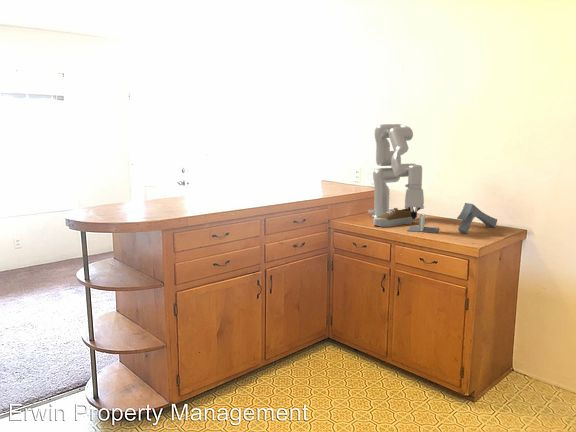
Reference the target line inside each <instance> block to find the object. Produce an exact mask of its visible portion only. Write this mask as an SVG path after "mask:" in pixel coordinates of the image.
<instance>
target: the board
mask: <svg viewBox="0 0 576 432" xmlns="http://www.w3.org/2000/svg"><path fill="white" fill-rule="evenodd" d="M425 219H426V213H424V212H422V213H421V214H420V215H419V219H418V226H419V231H423V229H424V227H425V221H426V220H425Z"/></svg>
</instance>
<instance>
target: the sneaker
mask: <svg viewBox="0 0 576 432" xmlns="http://www.w3.org/2000/svg"><path fill="white" fill-rule="evenodd" d="M413 210H414V211H415V209H414V208H413ZM372 219H373V220H372V222H373V223H372V224H373V225H374V226H378V227H382V228H387V227H388V228H389V227H395V226H399V225H400V226H401V225H406V224H407V225H408V224H413V223H414V220H415V219H412V217H411V211H410V210H409V209H407V208H402V209H399V208H398V207H394V208H391V209H389V211H388V212H386V213H385V214H383V215H381V216H377V217H373V218H372Z"/></svg>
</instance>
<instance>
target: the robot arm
mask: <svg viewBox="0 0 576 432" xmlns="http://www.w3.org/2000/svg"><path fill="white" fill-rule="evenodd" d="M374 138H375V144H376V145H375V146H376V147H375V149H376V150H375V162H376V163H375V164H376V165H377V166H380V168H379V167H378V168H376V169H375V170H373V173H372V178H373V183H374V184H373V185H374V188H373V189H374V197H373V199H374V200H373V201H374V202H373V203H374V205H373V207H374V208H373V209H367V213H369V214H371V217H372V218H374V217H377V216H381V215H383V214H385V213H386V212H388V211H389V210H390V188H389V186H388V185H387V183H389V184H390V183H397V182H399V181H400V178H406V177H407V184H405V185H404V187H405V188H406V190H405V196H404V197H405V198H404V209H406V208H407V209H409V210H410V211H411V217H412V219H414V220H415V219H416V218H418V211H419V210H423V209H424V208H425V205H424V203H425V202H424V201H425V200H424V199H425V198H424V196H425V194H424V189H423V184H422V183H423V166H422V165H420V164H416V163H402V157H401V156H402V155H404V154H405V153H407V152H408V151H409V145H408V142H410V141H411V140H412V139H413V138H414V132H413V130H412V128H411V127H410V126H408V125H405V124H403V123H384V124H379V125H377V126H376V127H375V129H374ZM388 139H389V140H390V141H389V140H388ZM391 145H392V148H393V150H391V148H390V147H391ZM414 208H415V209H414ZM413 209H414V210H413Z"/></svg>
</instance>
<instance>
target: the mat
mask: <svg viewBox="0 0 576 432" xmlns="http://www.w3.org/2000/svg"><path fill="white" fill-rule="evenodd" d="M438 231H439V227H437V226H424V229H423V231H419V225H417V226H416V225H410V226H409V228H408V229H407V232H413V233H414V232H415V233H429V234H430V233H433V234H437V233H438Z"/></svg>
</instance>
